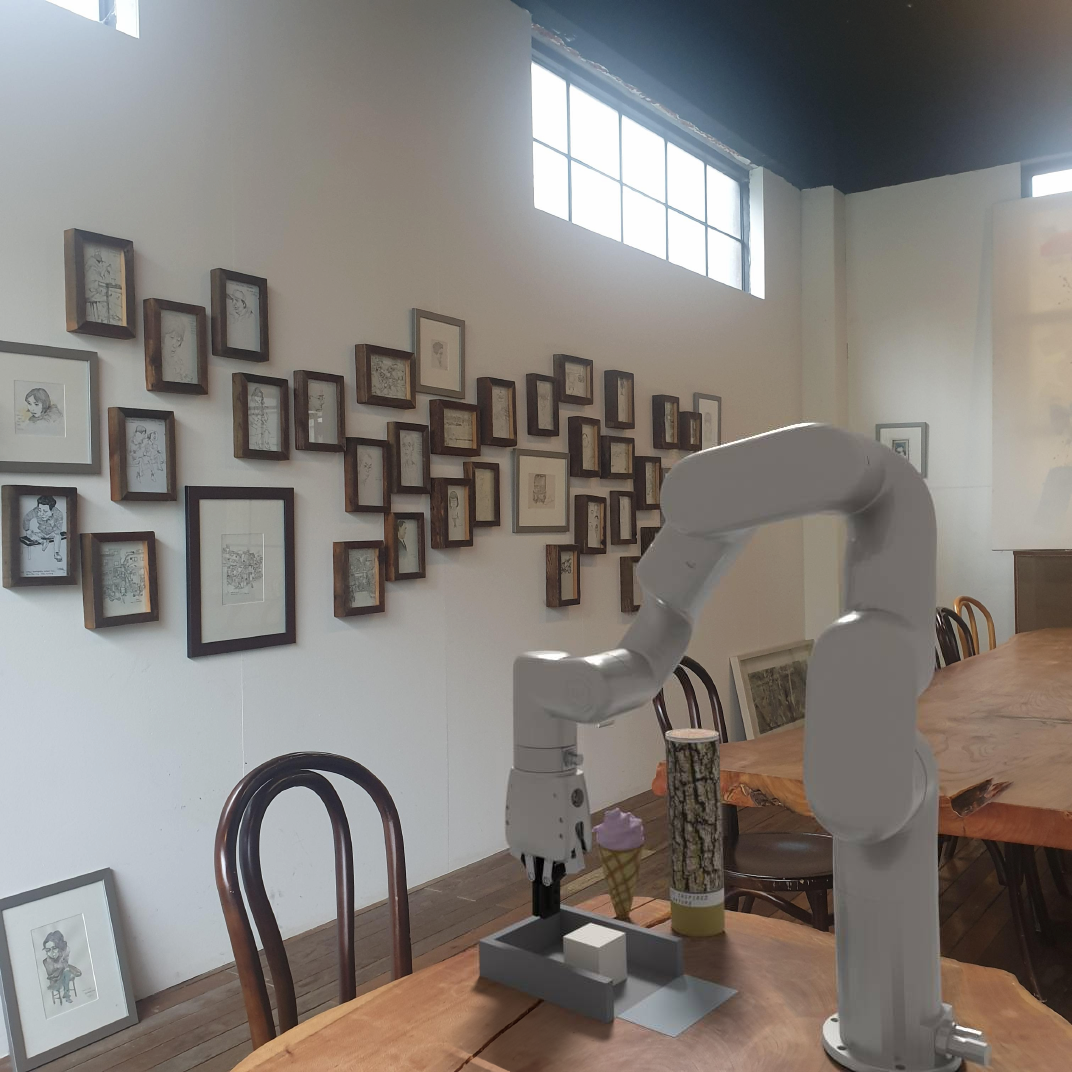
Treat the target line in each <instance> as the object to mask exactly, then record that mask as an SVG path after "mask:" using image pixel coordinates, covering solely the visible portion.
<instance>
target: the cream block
mask: <svg viewBox="0 0 1072 1072" xmlns="http://www.w3.org/2000/svg"><path fill="white" fill-rule="evenodd" d="M563 948H564V963H565V964H568V965H571V966H574V967H577V968H580V969H583V970H586V971H589V972H592V973H595V974H598V975H601V976H604V977H607V978H610V979H613V986H614V985H616V984H617V983H619V982H621V981H622V980H624V979H626V978H627V962H626V933H623V932H620V931H617V930H613V929H610V928H606V927H603V926H599V925H596V924H592V923H589V924H587V925H585V926H583V927H581V928H579V929H577V930H575V931H573V932H572V933H570V934H568V935H566V936H564V937H563Z"/></svg>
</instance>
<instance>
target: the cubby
mask: <svg viewBox="0 0 1072 1072" xmlns="http://www.w3.org/2000/svg"><path fill="white" fill-rule="evenodd" d="M589 923H592V924H596V925H599V926H603V927H606V928H610V929H613V930H617V931H620V932H623V933H626V962H627V978H626V979H624V980H622V981H621V982H619V983H617V984H616V985H614V986H613V979H610V978H607V977H604V976H601V975H598V974H595V973H592V972H589V971H586V970H583V969H580V968H577V967H574V966H571V965H568V964H565V963H564V948H563V937H564V936H566V935H568V934H570V933H572V932H573V931H575V930H577V929H579V928H581V927H583V926H585V925H587V924H589ZM683 940H684V939H683V938H682V937H680V936H675V935H671V934H670V933H666V932H661V931H658V930H654V929H651V928H648V927H644V926H641V925H637V924H633V923H630V922H626V921H622V920H619V919H615V918H611V917H609V916H605V915H601V914H598V913H595V912H591V911H588V910H587V911H586V910H584V909H580V908H575V907H573V906H570V905H566V904H562V903H560V912H559V913H557V914H555V915H553V916H551V917H549V918H546V919H542V918H540V917H536V916H533V915H531V916H528V917H526V918H524V919H523V920H520V921H518V922H516V923H514V924H510V925H508V926H507V927H504V928H503V929H501V930H498V931H496V932H494V933H492V934H490V935H488V936H485V937H483V938H480V939H478V963H479V964H478V966H479V968H478V969H479V977H481V978H484V979H487V980H489V981H493V982H494V983H497V984H500V985H503V986H506V987H508V988H511V989H513V990H516V991H520V992H521V993H525V994H527V995H530V996H531V997H535V998H538V999H541V1000H544V1001H546V1002H549V1003H551V1004H554V1005H556V1006H559V1007H562V1008H564V1009H567V1010H570V1011H573V1012H575V1013H578V1014H580V1015H583V1016H586V1017H589V1018H591V1019H593V1020H597V1021H599V1022H602V1023H604V1024H608V1023H610V1022H612V1021H613V1020H615V1019H616V1018H618V1019H621V1020H623V1021H626V1022H629V1023H632V1024H635V1025H638V1026H641V1027H643V1028H645V1029H649V1030H652V1031H653V1032H657V1033H659V1034H662V1035H664V1036H665V1035H666V1036H668V1037H670V1038H674V1039H675V1038H677V1037H678V1036H679V1035H681V1034H682V1033H683V1032H685V1031H687V1030H688V1029H689V1028H690V1027H692V1026H693V1025H695V1024H696V1023H697V1022H699V1021H700V1020H702V1019H703V1018H704V1017H705V1016H707V1015H709V1014H710V1013H711V1012H713V1011H714V1010H715V1009H717V1008H718V1007H720V1005H722V1004H723V1003H725V1002H726V1001H727V1000H729V999H731V998H732V997H733V996H735V995H736V994H738V993H739V992H740V991H739V990H738V989H737V990H736V989H734V988H731V987H728V986H724V985H721V984H718V983H714V982H711V981H708V980H705V979H701V978H698V977H695V976H692V975H689V974H686V973H684V972H685V971H684V970H685V969H684V968H685V967H684V943H683Z"/></svg>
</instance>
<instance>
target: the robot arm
mask: <svg viewBox="0 0 1072 1072" xmlns="http://www.w3.org/2000/svg"><path fill="white" fill-rule="evenodd" d="M659 506H660V509H661V510H660V511H661V512H662V514H663V517H664V519H665V522H664V524H663V525H662V527H661V528H660V530H659V531H658V533H657V534H656V536H655V537H654V539H653V540H652V541H651V543H650V545H649V546H648V548H647V549H646V551H645V552H644V553H643V555H642V557H641V558H640V560H639V562H638V563H637V564H636V568H635V577H636V579H637V582H638V584H639V585H640V587H641V592H642V598H641V599H642V600H641V603H640V606H639V609H638V612H637V614H636V616H635V618H634V620H633V621H632V623H631V624H630V626H629V628H628V629H627V631H626V632H625V634H624V636H623V637H622V638H621V640H620V641H619V642H618V644H617V645H616V647H615V648H614V649H613V650H609V651H604V652H599V653H596V654H591V655H587V656H584V657H583V656H582V657H574V656H573V655H572V654H571V653H568V652H566V651H559V650H558V651H557V650H532V651H526V652H525V651H524V652H522V653H520V654H518V655H517V656H516V657H515V659H514V662H513V664H512V665H513V667H512V697H513V698H512V704H513V705H512V708H513V709H512V718H513V720H512V723H513V724H512V725H513V727H512V728H513V738H512V739H513V746H512V749H513V750H512V751H513V759H512V760H513V761H512V762H513V765H512V766H511V767H510V770H509V775H508V781H507V788H506V796H505V811H504V833H505V841H506V843H507V845H508V846H509V847H508V848H509V849H508V851H509V854H510V855H511V856H513V858H516V859H517V860H519V861H521V863H522V865H523V867H524V868H525V869H526V875H527V879H528V881H530V882H532V883H531V886H532V887H531V889H532V890H531V893H532V894H531V895H532V897H531V898H532V901H531V902H532V903H531V904H532V908H531V909H532V910H531V911H532V912H531V913H532V916H536V917H540V918H542V919H546V918H549V917H551V916H553V915H555V914H557V913H559V912H560V904H561V881H562V880H564V879H565V878H566V876H567V875H569V874H570V875H571V874H574V875H575V874H579V873H581V872H583V871H585V870H586V864H585V863H586V862H585V860H584V855H588V854H590V853H591V851H592V846H593V845H592V844H593V841H592V840H593V839H592V838H593V837H592V836H593V835H592V833H593V832H592V831H591V830H592V821H591V820H592V819H591V818H592V817H591V807H590V800H589V799H590V798H589V791H588V787H587V781H586V777H585V774H584V771H583V770H581V769H578V768H579V766H582V765H583V763H584V755H583V754H582V753H579V752H578V724H580V725H581V724H582V725H589V726H590V725H591V726H593V725H594V726H595V725H601V724H604V723H607V722H610V721H613V720H616V719H618V718H621V717H622V716H627V715H629V714H631V713H632V714H633V713H635V712H637V711H640V710H642V709H643V708H644V707H646V706H647V705H649V704H650V703H651V702H652V701H653V700H654V698H656V697H657V695H658V694H659V693H660V692H661V690H662V688H664V685H665V684H666V682H667V681H668V680H669V678H670V677H671V675H672V674H673V673H674V672H675V670H676V668H677V667H678V665H679V664H680V663H681V661H682V660H683V658H684V657H685V655H686V653H687V651H688V649H689V648H690V644H691V643H692V640H693V638H694V635H695V632H696V630H697V627H698V626H699V623H700V619H701V615H702V611H703V609H704V608H705V606H706V605H707V603H708V602H709V601H710V600H711V599H710V598H711V597H712V596H713V595H714V593H715V592H716V590H717V589H718V587H719V585H720V584H721V583H722V581H723V580H724V579H725V578H726V575H727V574H728V573H729V571H730V570H731V568H732V567H733V566H734V565H735V563H736V561H737V559H738V558H739V557H740V555H741V554H742V553H743V551H744V550H745V548H746V547H747V546H748V544H749V542H750V541H751V540H752V538H753V536H754V535H756V532H757V531H758V529H759V528H760V527H763V526H768V525H772V524H775V523H780V522H784V521H789V520H793V519H798V518H804V517H809V516H815V515H822V516H823V515H824V516H837V517H839V518H841V519H842V521H843V522H844V525H845V529H846V542H845V546H844V547H845V548H844V552H843V553H844V554H843V557H842V558H843V559H842V560H843V561H842V562H843V563H842V591H841V592H842V593H841V608H840V613H839V614H840V615H839V618H837V619H836V620H834V621H833V622H832V623H830V624H829V625H828V626H827V627H826V628H825V629H824V630H823V631H822V632H821V633H820V635H819V636H818V637H817V639H816V641H815V643H814V645H813V647H812V650H811V652H810V656H809V660H808V665H807V672H806V681H805V682H806V684H805V686H806V687H805V704H804V705H805V706H804V729H803V731H804V732H803V734H804V735H803V752H802V753H803V756H802V757H803V758H802V778H803V779H802V780H803V781H802V783H803V790H804V795H805V798H806V802H807V805H808V807H809V809H810V812H811V814H812V815H813V817H814V818H815V819H816V820H817V822H818V823H819V824H820V825H821V826H822V828H824V829H825V830H826V832H828V833H829V834H831V835H832V836H833V839H832V870H833V873H832V874H833V875H832V876H833V880H832V881H833V882H832V884H833V885H832V886H833V914H834V917H833V919H834V941H835V942H834V946H835V947H834V948H835V969H836V971H835V977H836V1004H837V1005H836V1006H837V1012H836V1013H834V1014H832V1015H830V1016H828V1018H827V1019H826V1020H825V1021H823V1022H824V1023H823V1024H822V1026H821V1041H822V1046H823V1047H824V1050H825V1051H826V1053H828V1054H829V1055H830V1056H831V1058H833V1060H834V1061H836V1062H838V1063H839V1064H841V1065H842V1066H843V1067H846V1068H847V1069H850V1070H851V1071H853V1072H956V1071H957V1070H959V1068H960V1066H961V1065H962V1060H963V1059H964V1060H965V1061H966V1062H970V1063H972V1064H975V1065H979V1066H982V1067H986V1068H987V1067H988V1066H989V1064H990V1059H991V1045H990V1044H989V1043H988V1042H985V1034H984V1032H983V1031H982V1030H977V1029H974V1028H970V1027H964V1026H961V1025H959V1023H958V1022H957V1021H956V1020H955V1021H954V1018H953V1015H954V1014H953V1012H954V1011H953V1005H951V1004H948V1003H945V1002H944V1003H943V1000H942V999H943V997H942V995H943V994H942V993H943V992H942V971H941V970H942V969H941V968H942V967H941V944H940V943H941V941H940V940H941V939H940V917H939V916H940V913H939V888H940V887H939V867H938V865H939V863H938V862H939V861H938V860H939V859H938V854H939V852H938V837H939V835H938V834H939V833H938V832H939V831H938V829H939V827H938V826H939V809H940V808H939V806H940V805H939V804H940V803H939V802H940V773H939V766H938V763H937V759H936V756H935V753H934V751H933V749H932V746H931V745H930V743H929V741H928V740H927V739H926V737H924V735H922V733H921V732H920V731H919V730H918V729H917V725H918V724H917V723H918V721H917V720H918V717H917V716H918V704H919V702H918V701H919V697H920V696H921V695H922V694H923V693H924V692H925V690H927V688H928V687H929V686H930V684H931V682H932V679H933V678H934V674H935V669H936V665H937V663H936V661H937V660H936V616H937V615H936V613H937V557H938V556H937V549H938V530H937V529H938V528H937V516H936V510H935V505H934V500H933V498H932V495H931V492H930V489H929V487H928V485H927V483H926V482H925V480H924V478H923V477H922V475H921V473H920V472H919V471H918V470H917V469H916V467H915V466H914V465H913V464H912V463H911V462H910V461H909V460H908V459H907V458H905V457H904V456H903V455H901V453H899V452H897V451H896V450H895V449H892V448H891V447H889V446H887V445H886V444H884V443H881V442H880V441H878V440H875V439H873V438H871V437H870V436H867V435H865V434H863V433H860V432H857V431H855V430H851V429H849V428H844V427H841V426H839V425H835V424H831V423H827V422H805V423H798V424H794V425H790V426H787V427H783V428H779V429H776V430H771V431H769V432H765V433H761V434H758V435H754V436H751V437H747V438H743V439H740V440H736V441H733V442H729V443H727V444H726V443H725V444H722V445H718V446H714V447H711V448H707V449H704V450H700V451H698V452H694V453H692V454H689V455H687V456H686V457H684V458H681V459H680V460H679V461H677V462H676V463H674V465H673V466H672V468H670V469H669V470H668V472H667V474H666V475H665V477H664V478H663V482H662V484H661V486H660V491H659Z"/></svg>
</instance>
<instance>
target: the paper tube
mask: <svg viewBox="0 0 1072 1072" xmlns="http://www.w3.org/2000/svg"><path fill="white" fill-rule="evenodd" d="M664 738H665V739H664V741H665V746H664V747H665V748H664V749H665V775H666V776H665V777H666V778H665V779H666V780H665V781H666V803H667V804H666V805H667V808H666V809H667V810H666V811H667V835H668V837H667V841H668V845H667V846H668V873H669V874H668V875H669V877H668V878H669V898H670V926H671V928H672V929H673V931H675V932H676V933H679V934H681V935H683V936H687V937H692V938H693V937H694V938H706V937H707V938H708V937H714V936H717V935H719V934H722V933H723V932H724V930H725V927H726V922H725V921H726V918H725V917H726V916H725V914H726V913H725V883H724V882H725V880H724V878H725V877H724V851H723V850H724V849H723V848H724V847H723V826H722V825H723V819H722V815H723V814H722V787H721V785H722V784H721V758H720V757H721V756H720V755H721V754H720V752H721V751H720V736H719V732H718V731H715V730H712V729H706V728H678V729H672V730H668V731H666V732H665V736H664Z"/></svg>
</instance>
